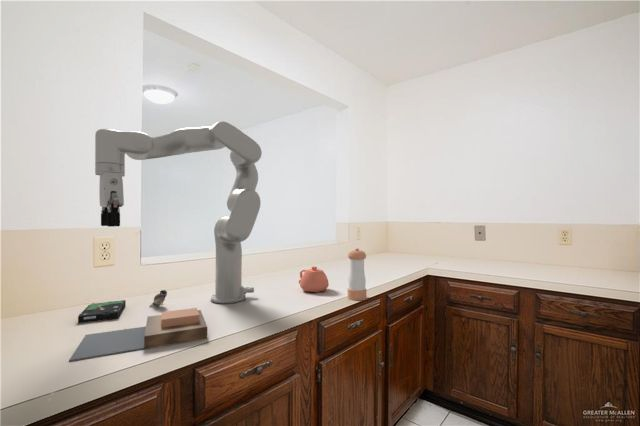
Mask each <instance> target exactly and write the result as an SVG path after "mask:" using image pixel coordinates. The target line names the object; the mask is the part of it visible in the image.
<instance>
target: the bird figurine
mask: <svg viewBox="0 0 640 426" xmlns="http://www.w3.org/2000/svg"><path fill="white" fill-rule="evenodd" d="M167 294H168V291H167V290H166V289H163V290H160V291H159V293H157V294H156V295H155V296H154V297H153V301H152V303H150V304H149V308H158V307H159V306H163V305H164V302H165V301H166V296H167Z"/></svg>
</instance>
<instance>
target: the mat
mask: <svg viewBox="0 0 640 426" xmlns="http://www.w3.org/2000/svg"><path fill="white" fill-rule="evenodd" d="M145 329H146V325H145V326H139V327H133V328H125V329H117V330H109V331H102V332H96V333H90V334H85V336H84V337H83V339H82V340H81V341H80V343H79V344H78V346H77V347H76V349H75V350H74V352H73V353H72V355H71V357H70V358H69V359H68V362H69V363H70V362H73V361H75V362H76V361H81V360H87V359H92V358H93V359H94V358H98V357H105V356H111V355H117V354H122V353H128V352H129V353H130V352H134V351H140V350H145V349H144V336H145Z"/></svg>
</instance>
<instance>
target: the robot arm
mask: <svg viewBox="0 0 640 426" xmlns="http://www.w3.org/2000/svg"><path fill="white" fill-rule="evenodd" d="M94 137H95V138H94V141H95V142H94V143H95V144H94V145H95V148H94V151H95V152H94V153H95V154H94V155H95V157H94V159H95V160H94V167H95V168H94V171H95V172H94V174H95V176H98V177H99V187H98V188H99V206H100V207H101V210H100V212H101V213H100V226H101V227H108V228H109V227H113V228H114V227H120V226H121V213H120V212H121V208H123V206H124V205H125V204H124V203H125V200H124V199H125V198H124V182H123V177H125V176H126V174H125V173H126V169H125V168H126V166H125V165H126V163H125V161H126V160H125V159H126V157H125V156H128V158H130V159H132V160H135V161H144V160H153V159H160V158H166V157H172V156H179V155H185V154H191V153H200V152H208V151H209V152H210V151H218V150H221V149H224V148H226V149H228V150H229V151H230V154H229V157H230V161H231V162H232V165H233V166H234V168H235V171H236V176H235V179H234V183H233V185H232V188H231V190H230V192H229V195H228V198H227V200H226V206H227V209H228V211H230V214H229V215H226V216H223V217H221V218H219V219H218V220H217V221H216V223H215V224H214V230H213V234H214V235H213V236H214V242H215V243H214V244H215V280H214V281H215V284H214V286H215V291H214V293H215V294H214V295H212V296H211V297H210V301H211V302H212V303H215V304H233V303H238V302H242V301H244V300H245V299H246V295H247V294H248V293H249V294H251V293H255V287H254V286H253V287H249V286H246V287H244V286H243V283H242V276H243V272H242V270H243V267H242V265H243V262H242V260H243V252H242V251H243V250H242V242H244V241H246V240H247V239H248V238H249V237H250V235H251V233H252V231H253V228H254V225H255V223H256V220H257V218H258V214H259V212H260V208H261V197H260V195H259V193H258V192H257V191H256V189H257V186H258V181H259V173H258V169H257V167H256V165H255V164H256V163H257V162H259V161H260V159H261V157H262V153H263V151H262V149H261V146H260V144H259V143H257V141H256V140H254V139H253V138H252V137H250V136H249V135H247V134H245V133H244V131H242V130H240V129H239V128H237V127H236V126H234V125H233V124H232V123H230V122H227V121H224V120H223V121H221V120H220V121H217V122H216V123H214V124H213V125H210V126H201V127H200V126H199V127H197V126H196V127H184V128H178V129H176V130H173V131H171V132H168V133H166V134H161V135H158V136H152V137H151V136H150V135H149V134H147V133H145V132H141V131H121V130H117V129H110V128H100V129H97V130H96V131H95V136H94Z"/></svg>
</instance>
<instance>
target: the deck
mask: <svg viewBox="0 0 640 426" xmlns="http://www.w3.org/2000/svg"><path fill="white" fill-rule="evenodd" d="M197 310H198V309H197ZM198 313H199V322H197V323H190V324H183V325H176V326H169V327H162V328H161V314H157V315H156V314H155V315H149V316H147V318H146V325H145V326H146V329H145V336H144V349H143V350H145V349H147V350H148V349H153V348H156V347H157V348H158V347H166V346H170V345H177V344H181V343H188V342H194V341H199V340H200V341H201V340H205V339H208V325H207V323H206V322H207V321H206V320H205V317H204V315H203V313H202V309H199V310H198Z"/></svg>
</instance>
